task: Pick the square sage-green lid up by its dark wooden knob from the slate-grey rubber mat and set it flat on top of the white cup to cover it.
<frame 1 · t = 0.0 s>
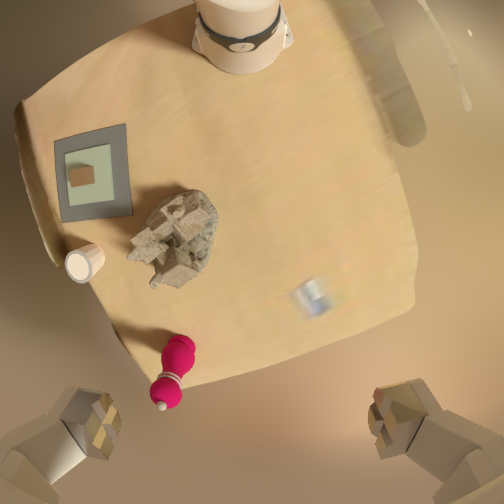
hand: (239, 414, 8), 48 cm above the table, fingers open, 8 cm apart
pepper mill: (182, 345, 63), on the table
lid: (89, 175, 51), resting on mat
ceramic cottage: (184, 236, 56), on the table
white cup: (94, 255, 57), on the table
mat: (90, 175, 52), on the table
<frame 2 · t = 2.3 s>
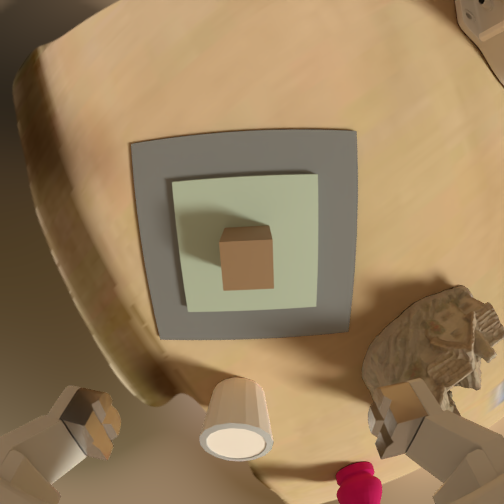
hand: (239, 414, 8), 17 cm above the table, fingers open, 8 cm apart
pepper mill: (353, 469, 36), on the table
lid: (248, 245, 24), resting on mat
ceramic cottage: (422, 354, 29), on the table
white cup: (238, 394, 30), on the table
mat: (248, 243, 24), on the table
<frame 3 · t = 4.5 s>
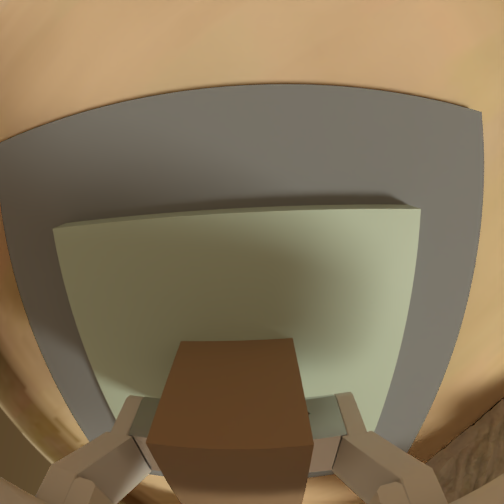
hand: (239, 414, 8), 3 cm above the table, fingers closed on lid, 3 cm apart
lid: (240, 366, 10), resting on mat, touching gripper
ceramic cottage: (483, 446, 15), on the table
mat: (241, 360, 10), on the table
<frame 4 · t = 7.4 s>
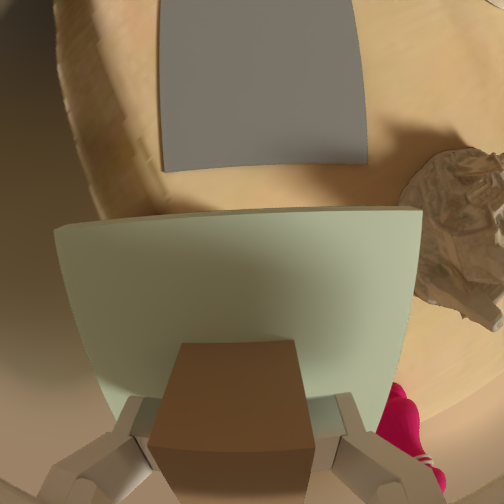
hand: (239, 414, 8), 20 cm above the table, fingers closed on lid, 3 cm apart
pepper mill: (381, 397, 34), on the table
lid: (241, 368, 10), point 18 cm above the table, touching gripper
ceramic cottage: (452, 225, 27), on the table
mat: (262, 66, 22), on the table
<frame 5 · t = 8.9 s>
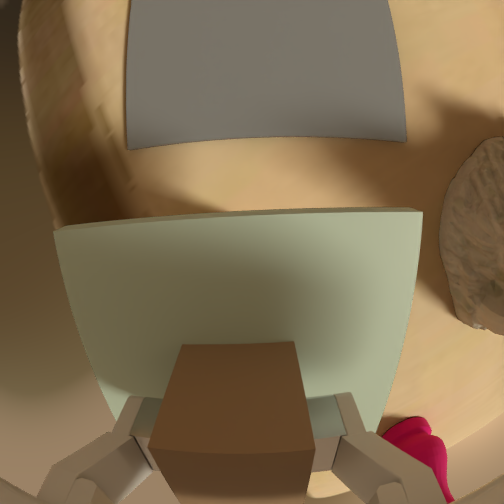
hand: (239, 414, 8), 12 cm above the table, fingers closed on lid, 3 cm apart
pepper mill: (402, 432, 26), on the table
lid: (241, 369, 10), point 10 cm above the table, touching gripper
ceramic cottage: (500, 230, 19), on the table
mat: (263, 12, 14), on the table
when the fingers open (11 cm above the table, at t = 9.9 s): lid drops 2 cm, resting on white cup.
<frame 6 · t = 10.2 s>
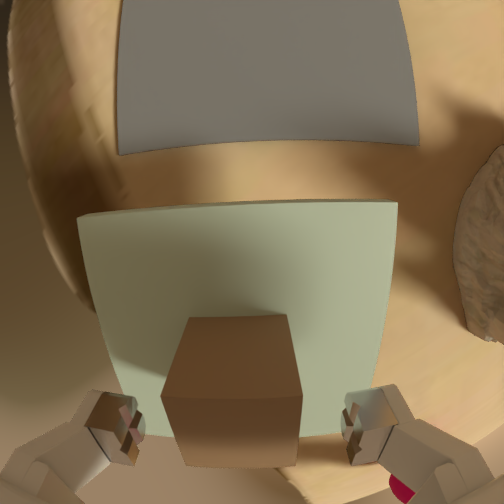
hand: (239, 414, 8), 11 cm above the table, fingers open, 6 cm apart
pepper mill: (408, 443, 24), on the table
lid: (241, 343, 11), point 7 cm above the table, touching white cup
mat: (265, 5, 13), on the table
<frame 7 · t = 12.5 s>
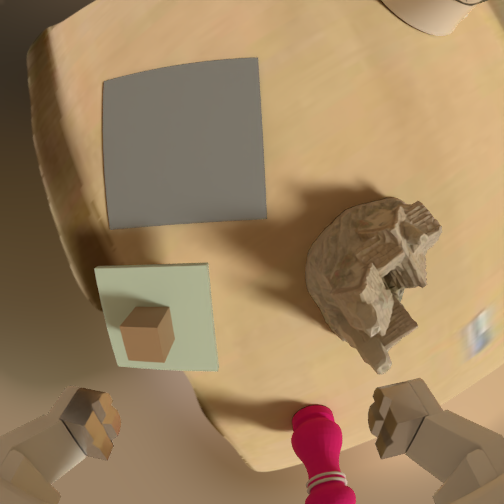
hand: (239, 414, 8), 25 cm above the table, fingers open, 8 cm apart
pepper mill: (312, 417, 39), on the table
lid: (157, 319, 27), point 7 cm above the table, touching white cup
ceramic cottage: (369, 271, 33), on the table
mat: (178, 141, 29), on the table
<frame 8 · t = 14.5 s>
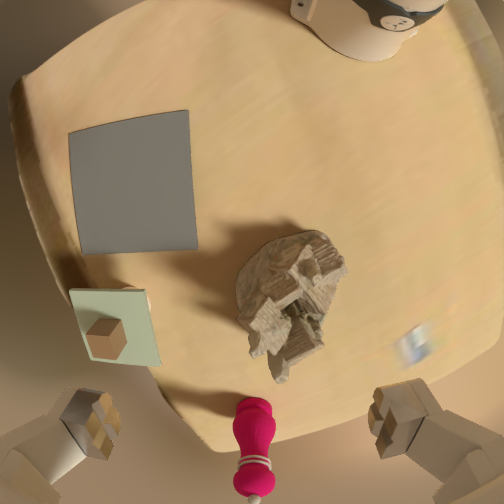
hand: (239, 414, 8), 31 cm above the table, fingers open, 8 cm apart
pepper mill: (254, 407, 48), on the table
lid: (115, 327, 35), point 7 cm above the table, touching white cup
ceramic cottage: (293, 292, 41), on the table
mat: (127, 186, 36), on the table
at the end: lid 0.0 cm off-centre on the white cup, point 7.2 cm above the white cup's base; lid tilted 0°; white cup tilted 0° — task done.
